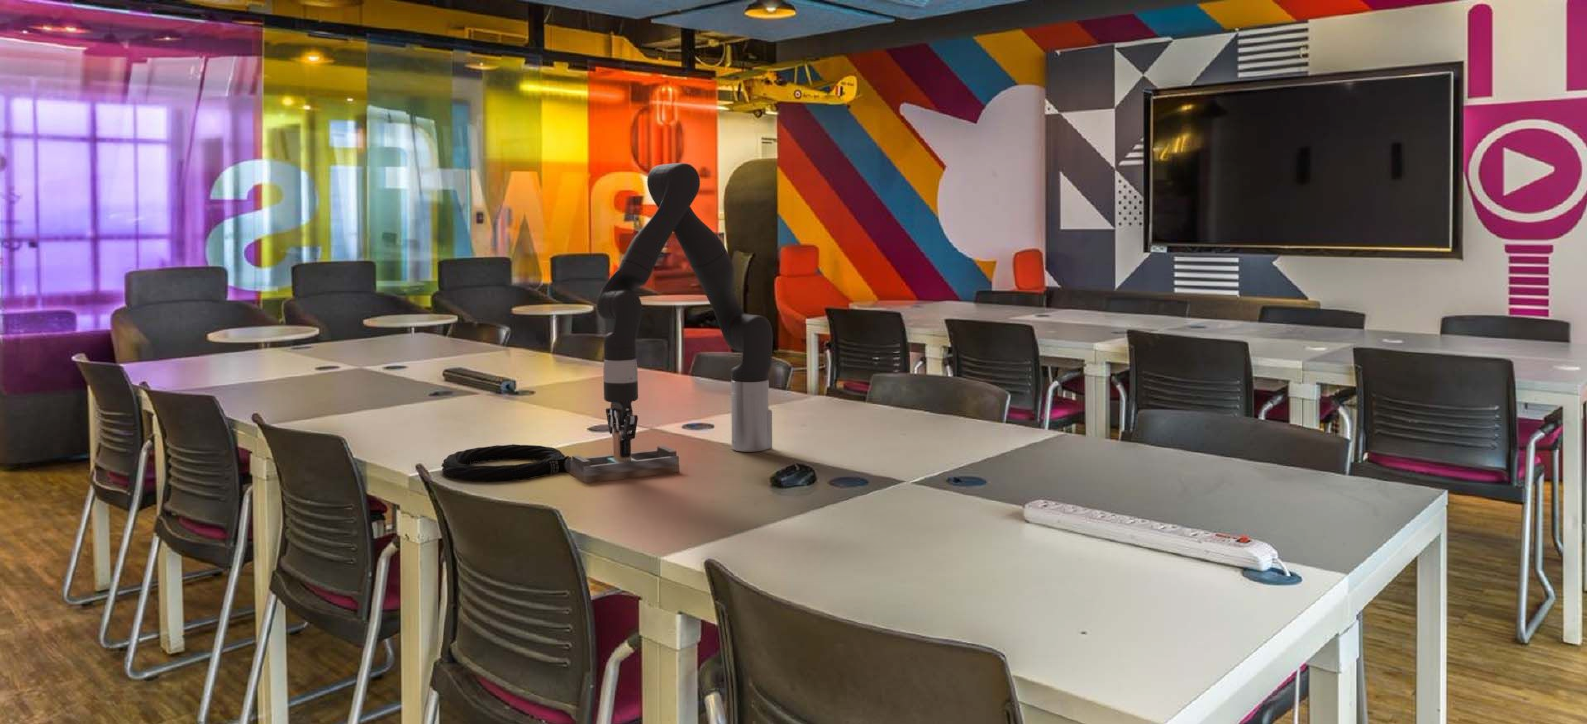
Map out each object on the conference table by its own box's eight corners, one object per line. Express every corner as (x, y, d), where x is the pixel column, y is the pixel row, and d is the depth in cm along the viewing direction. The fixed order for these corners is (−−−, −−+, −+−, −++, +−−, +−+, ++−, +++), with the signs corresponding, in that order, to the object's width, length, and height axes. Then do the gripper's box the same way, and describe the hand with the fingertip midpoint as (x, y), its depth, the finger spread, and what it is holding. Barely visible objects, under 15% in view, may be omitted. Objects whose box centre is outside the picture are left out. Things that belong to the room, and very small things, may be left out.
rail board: (661, 463, 267) (661, 444, 266) (679, 471, 258) (679, 452, 258) (570, 474, 256) (569, 454, 255) (585, 483, 247) (585, 462, 247)
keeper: (627, 462, 260) (627, 429, 260) (638, 467, 255) (637, 434, 254) (606, 465, 258) (606, 431, 257) (617, 470, 253) (616, 436, 252)
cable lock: (476, 441, 278) (593, 445, 272) (477, 456, 279) (593, 461, 273) (417, 464, 251) (545, 469, 245) (418, 481, 252) (546, 487, 246)
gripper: (648, 381, 250) (650, 459, 252) (624, 374, 262) (626, 448, 264) (616, 384, 246) (618, 463, 248) (593, 376, 258) (595, 452, 260)
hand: (622, 455), depth 256 cm, fingers closed on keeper, 3 cm apart
